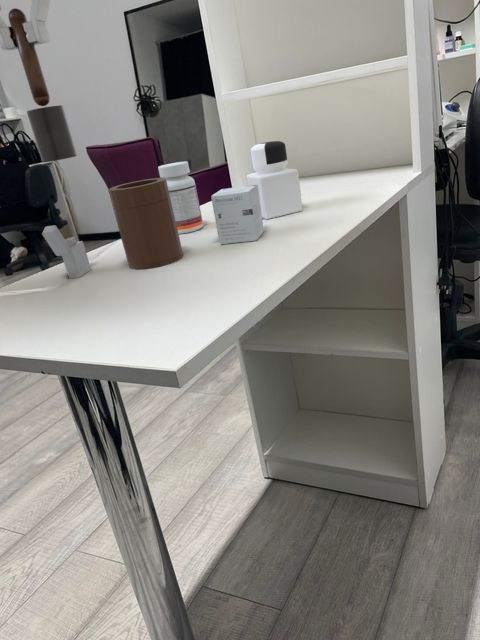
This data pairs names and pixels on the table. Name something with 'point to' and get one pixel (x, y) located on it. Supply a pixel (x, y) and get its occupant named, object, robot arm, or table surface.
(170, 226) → the wooden pen holder
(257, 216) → the white cardboard box
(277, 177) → the white security camera
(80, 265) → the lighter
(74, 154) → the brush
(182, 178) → the pill bottle
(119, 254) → the table surface
